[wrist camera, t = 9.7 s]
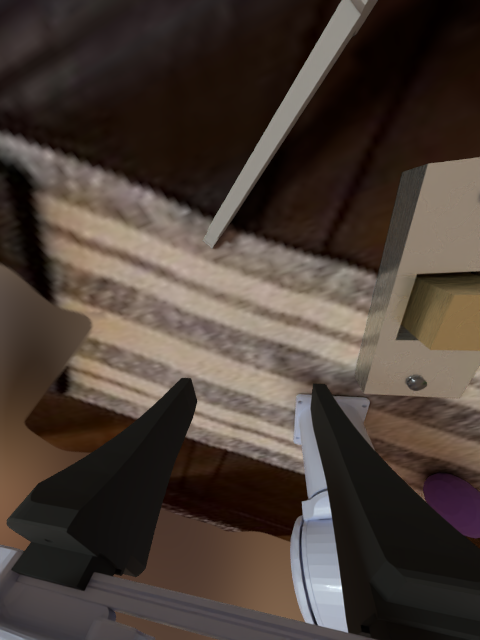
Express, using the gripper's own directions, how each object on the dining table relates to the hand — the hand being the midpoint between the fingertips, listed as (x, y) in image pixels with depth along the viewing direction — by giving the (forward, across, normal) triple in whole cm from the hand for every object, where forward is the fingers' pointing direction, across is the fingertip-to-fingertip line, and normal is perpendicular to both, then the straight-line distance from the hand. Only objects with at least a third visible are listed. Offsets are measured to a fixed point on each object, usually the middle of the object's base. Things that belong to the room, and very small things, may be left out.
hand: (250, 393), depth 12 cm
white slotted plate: (+9, -14, -2) cm, 17 cm away
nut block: (+10, -14, -2) cm, 17 cm away
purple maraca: (+10, -29, +30) cm, 43 cm away
